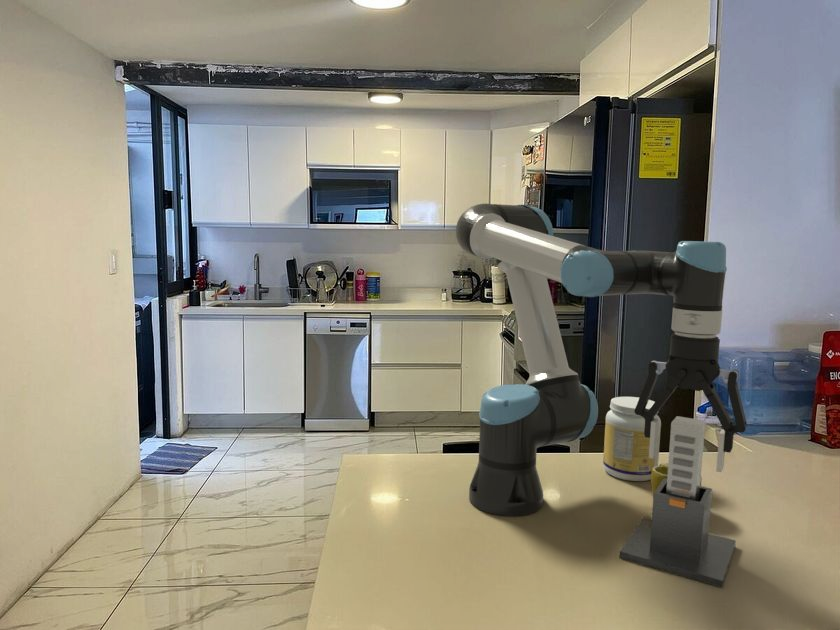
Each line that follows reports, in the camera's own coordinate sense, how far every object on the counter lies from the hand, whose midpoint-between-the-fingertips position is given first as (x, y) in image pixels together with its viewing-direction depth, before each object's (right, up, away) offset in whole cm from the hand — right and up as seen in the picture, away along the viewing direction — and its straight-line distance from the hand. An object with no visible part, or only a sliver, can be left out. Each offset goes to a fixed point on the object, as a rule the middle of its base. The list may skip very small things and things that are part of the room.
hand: (685, 462), depth 107 cm
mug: (+6, -14, +21) cm, 26 cm away
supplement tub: (+3, -12, +39) cm, 41 cm away
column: (0, -15, +2) cm, 15 cm away
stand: (0, -16, +2) cm, 16 cm away
